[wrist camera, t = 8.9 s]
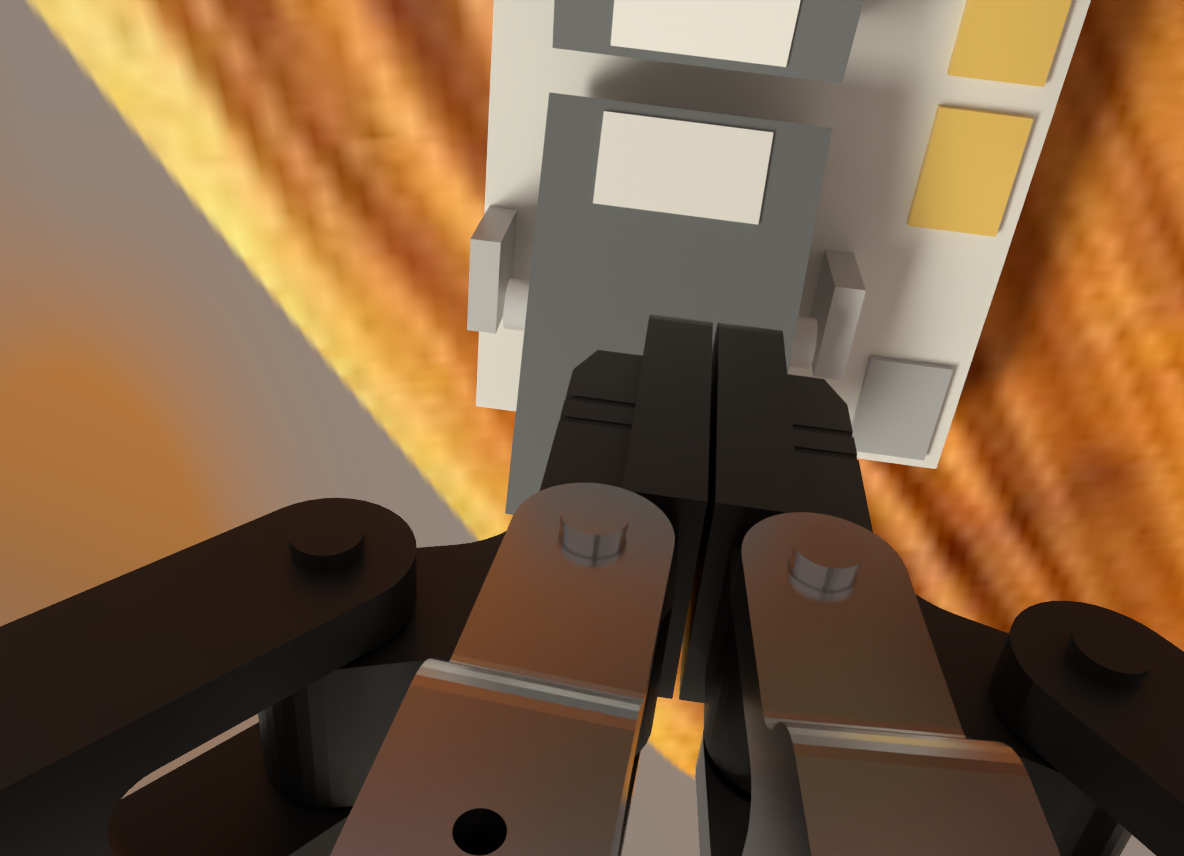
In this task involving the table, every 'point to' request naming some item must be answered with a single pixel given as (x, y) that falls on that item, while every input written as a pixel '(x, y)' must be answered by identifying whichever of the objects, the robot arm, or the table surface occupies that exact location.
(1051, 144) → the table surface
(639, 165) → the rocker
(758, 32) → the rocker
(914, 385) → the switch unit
